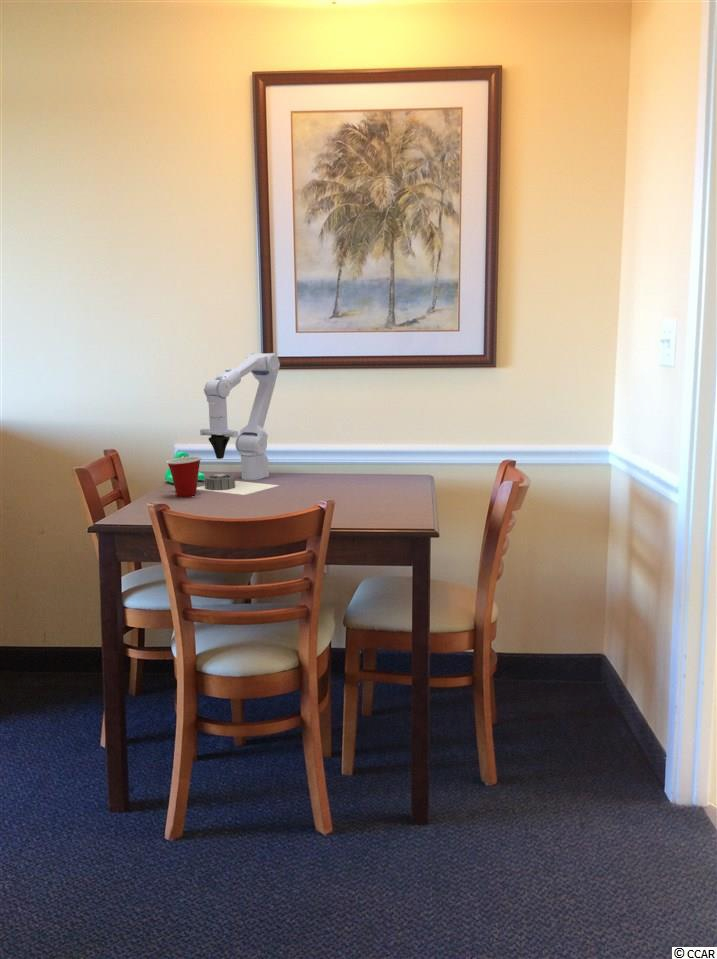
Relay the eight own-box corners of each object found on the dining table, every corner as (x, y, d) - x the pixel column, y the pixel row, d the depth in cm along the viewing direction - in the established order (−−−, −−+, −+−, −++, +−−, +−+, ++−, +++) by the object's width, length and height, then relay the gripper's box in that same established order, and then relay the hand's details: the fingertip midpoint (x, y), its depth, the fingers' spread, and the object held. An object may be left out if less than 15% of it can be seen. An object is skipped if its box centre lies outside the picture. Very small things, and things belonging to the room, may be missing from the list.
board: (227, 482, 297) (227, 469, 296) (279, 487, 285) (279, 474, 284) (191, 491, 282) (190, 478, 281) (244, 497, 270) (244, 483, 269)
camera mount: (172, 486, 292) (170, 455, 290) (165, 482, 299) (163, 453, 297) (206, 482, 298) (204, 452, 296) (198, 479, 305) (196, 450, 303)
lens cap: (219, 485, 286) (219, 472, 286) (231, 487, 284) (230, 474, 283) (209, 487, 282) (208, 475, 282) (220, 489, 280) (219, 476, 279)
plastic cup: (170, 493, 279) (168, 456, 276) (204, 492, 280) (202, 455, 277) (165, 500, 268) (163, 461, 266) (201, 498, 269) (199, 460, 267)
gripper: (192, 417, 283) (195, 458, 285) (227, 419, 275) (229, 461, 278) (207, 414, 289) (209, 455, 291) (241, 416, 281) (243, 458, 284)
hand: (220, 458), depth 285 cm, fingers closed
